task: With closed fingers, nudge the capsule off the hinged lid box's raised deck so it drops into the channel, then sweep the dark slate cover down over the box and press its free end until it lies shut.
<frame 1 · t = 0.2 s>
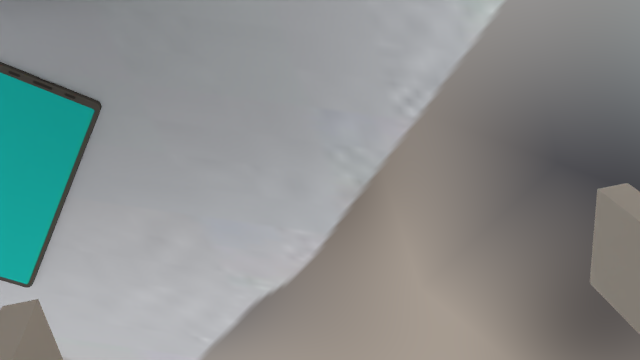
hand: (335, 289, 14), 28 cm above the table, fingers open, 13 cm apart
smartphone: (12, 176, 41), on the table
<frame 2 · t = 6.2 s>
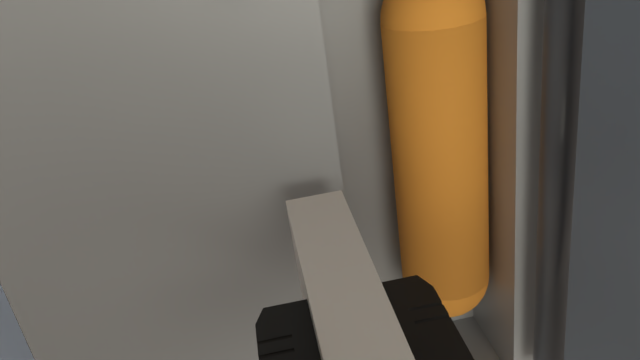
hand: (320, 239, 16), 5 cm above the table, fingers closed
capsule: (439, 158, 20), point 2 cm above the table, tilted 7°, touching hinged lid box
hinged lid box: (323, 153, 21), on the table
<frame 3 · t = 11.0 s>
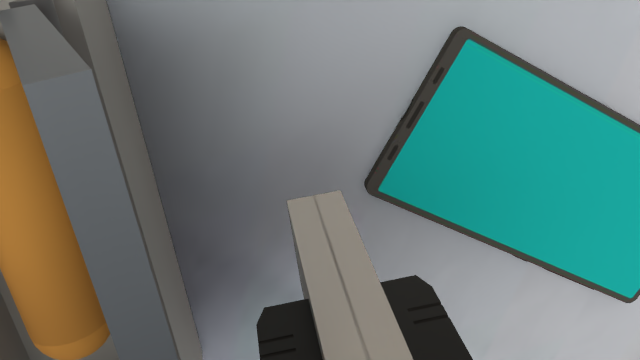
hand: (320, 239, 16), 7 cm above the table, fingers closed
capsule: (31, 212, 20), point 2 cm above the table, tilted 33°, touching hinged lid box
smartphone: (545, 175, 26), on the table
cover: (137, 318, 14), point 9 cm above the table, hinge at 109.1°, touching gripper
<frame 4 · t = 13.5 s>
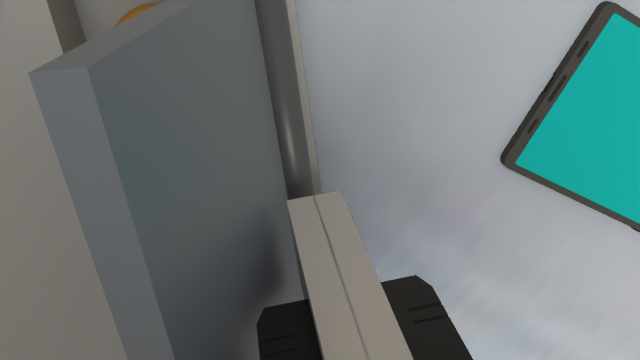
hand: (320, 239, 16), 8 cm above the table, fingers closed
cover: (261, 289, 15), point 9 cm above the table, hinge at 72.4°, touching gripper
hinged lid box: (128, 169, 23), on the table
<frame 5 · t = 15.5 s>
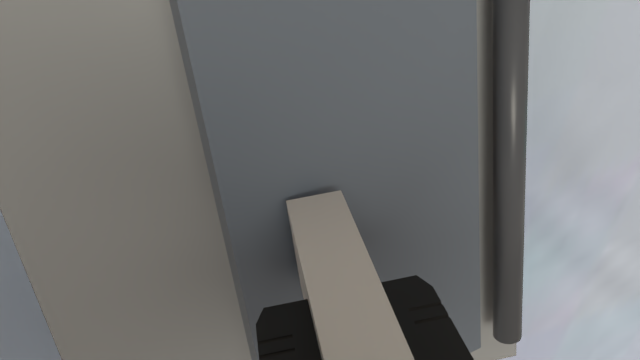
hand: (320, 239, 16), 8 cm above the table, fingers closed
cover: (389, 202, 18), point 6 cm above the table, hinge at 17.1°
hinged lid box: (306, 136, 23), on the table
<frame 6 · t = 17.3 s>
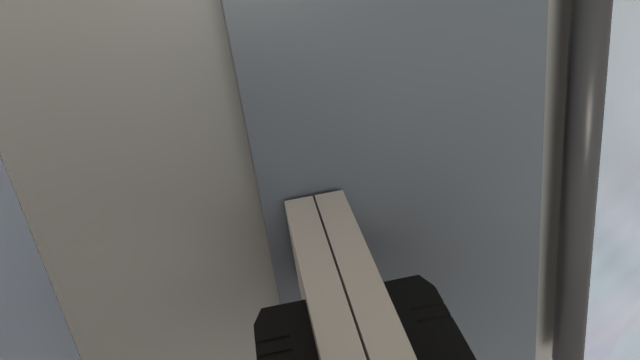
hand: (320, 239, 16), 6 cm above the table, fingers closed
cover: (436, 204, 17), point 5 cm above the table, hinge at 3.3°, touching gripper
hinged lid box: (349, 145, 22), on the table
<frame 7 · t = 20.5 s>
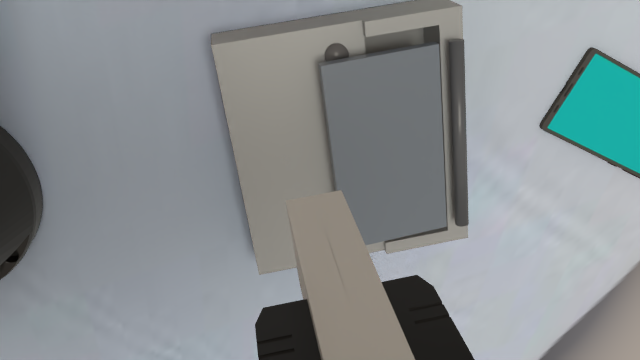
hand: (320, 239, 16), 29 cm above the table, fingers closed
smartphone: (626, 121, 51), on the table
cover: (400, 150, 43), point 5 cm above the table, hinge at 3.3°
hinged lid box: (363, 128, 47), on the table
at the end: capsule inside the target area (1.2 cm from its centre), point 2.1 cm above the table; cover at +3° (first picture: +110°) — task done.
